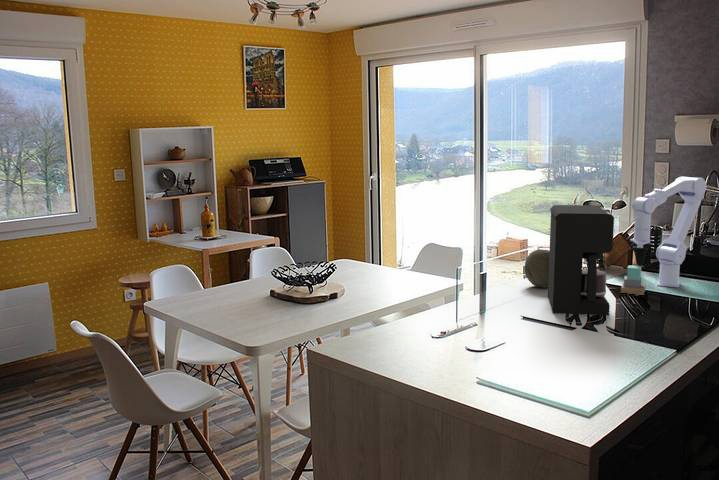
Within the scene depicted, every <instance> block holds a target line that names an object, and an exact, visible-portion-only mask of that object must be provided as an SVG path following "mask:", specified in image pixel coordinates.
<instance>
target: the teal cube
mask: <svg viewBox="0 0 719 480" xmlns="http://www.w3.org/2000/svg"><path fill="white" fill-rule="evenodd" d="M626 271H627V272H626V276H627V279H630V280H640V278H641V279H642V265H628V266H627V270H626Z"/></svg>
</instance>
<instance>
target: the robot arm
mask: <svg viewBox="0 0 719 480" xmlns="http://www.w3.org/2000/svg"><path fill="white" fill-rule="evenodd" d="M707 188H708V186H707V183H706V180H705V178H703V177H692V176H684V175H682V176H679V177H677V178H675V180H674V181H673V182H672V183H669V185H667V186H666V187H664V188H662V189H661V188H654V189H653V191H652V192H649V193H646V194H644V195H643V197H642V196H641V197H640V196H639V197H636V199H634V200H633V201H632V202H633V203H632V204H631V208H632V211H633V216H634V228H633V229H634V231H633V238H630V242H633V243H634V245H633V246H632V251H633V253H634V257H635V263H636V266H643V264H644V262H645V259H646V255H647V251H648V250H649V247H650V245H651V225H652V213H653V212H654V211H655V210H656V209H657V207H658V206H660V205H662V204H663V203H666V201H667V200H668V197H671V196H673V195H676V194H677V193H678V194H679V195H680V197H681V199H683V201H684V203H683V204H682V208H681V210H680V212H679V214H678V217H677V219H676V221H675V224H674V225H673V228H672V230H671V232H670V235H669V237H668V238H665V239H664V240H662V241H661V244H660V245H659V246H658V247H657V248H656V251H655V256H656V259H658V262H659V273H658V274H659V276H658V280H657V284H656V285H657V286H660V287H668V288H670V287H671V288H680V284H681V282H680V281H679V280H680V268H681V266H680V265H682V264H683V262H684V261H685V258H686V255H687V250H688V247H687V246H686V244H685V243H684V242H685V240H686V237H687V235H688V233H689V230H690V228H691V226H692V224H693V221H694V219H695V217H696V215H697V213H698V211H699V208H700V206H701V203H702V199H703V197H704V195H705V193H706V191H707Z"/></svg>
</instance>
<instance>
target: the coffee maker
mask: <svg viewBox="0 0 719 480" xmlns="http://www.w3.org/2000/svg"><path fill="white" fill-rule="evenodd" d="M549 209H550V224H549V225H550V227H549V229H550V231H549V250H550V252H549V279H548V287H547V298H548V302H549V304H550V310H551V312H552V314H564V315H566V314H567V315H582V314H590V315H589V316H605V315H609V316H610V308H611V307H610V306H611V305H610V304H609V301H608V300H607V299H606V297H605V296H606V294H607V289H606V287H607V273H606V271H602V270H599V269H598V265H597V264H598V262H597V260H600V259H604V258H603V254H609V253H611V252H612V250H614V249H613V246H614V229H615V217H614V215H613V214H611V212H610V210H609V209H606V208H604V205H595V204H594V205H589V204H587V205H582V204H580V205H578V204H576V205H575V204H570V205H569V204H554V205H552V206H551V207H550V208H549ZM584 259H585V260H587V268H583V260H584ZM605 264H606V263H604V265H605Z"/></svg>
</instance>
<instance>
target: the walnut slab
mask: <svg viewBox="0 0 719 480" xmlns="http://www.w3.org/2000/svg"><path fill="white" fill-rule="evenodd" d="M644 292H646V284H641V288H632V287H624V282H623V283H622V285H621V287H620V294H621V293H628V294H637V295H636V296H639V295H644V296H645V293H644ZM628 294H627V295H628Z"/></svg>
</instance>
